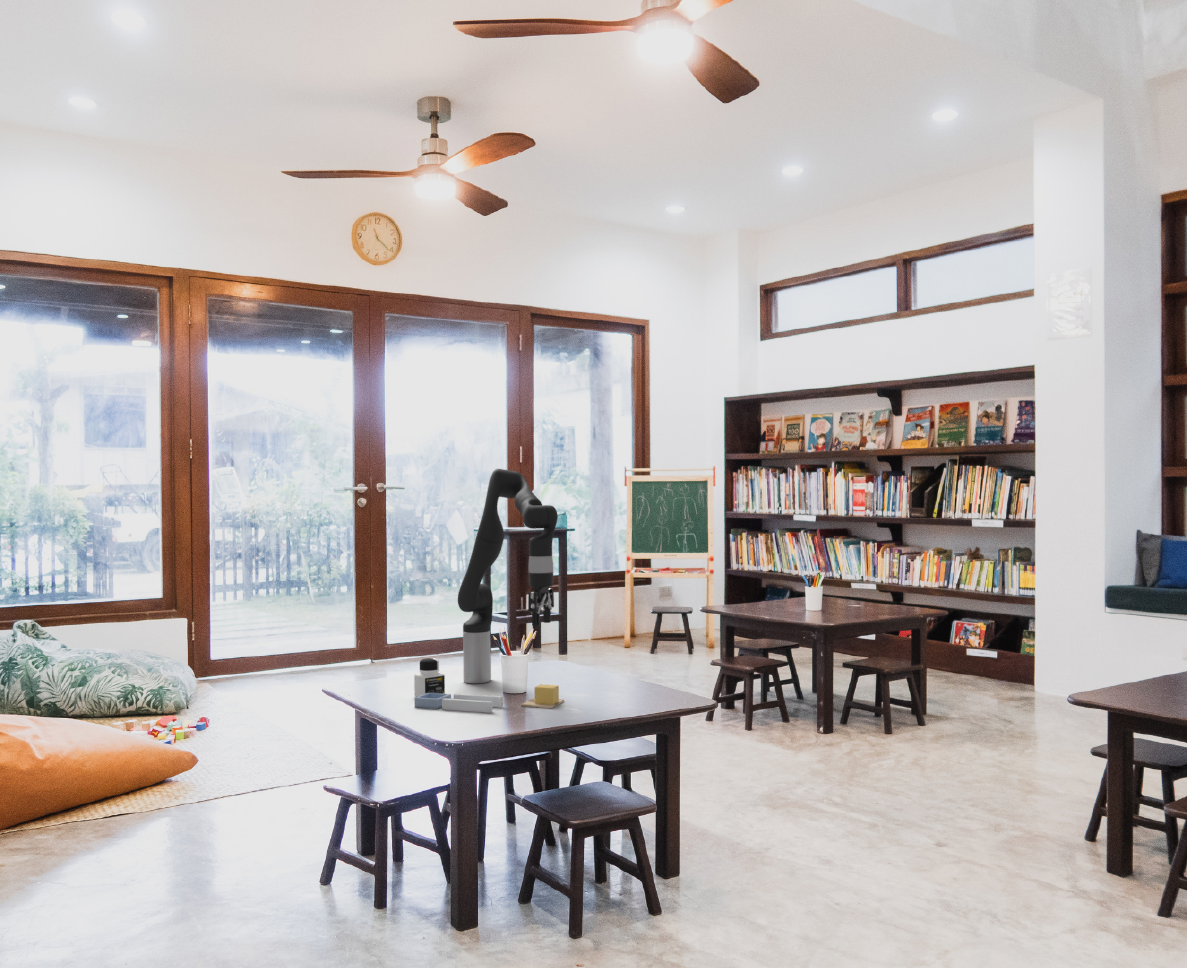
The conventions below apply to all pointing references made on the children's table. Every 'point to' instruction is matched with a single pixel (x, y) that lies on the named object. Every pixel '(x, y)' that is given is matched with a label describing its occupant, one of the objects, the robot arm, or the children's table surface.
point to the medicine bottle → (429, 678)
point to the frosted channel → (472, 703)
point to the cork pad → (532, 704)
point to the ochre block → (547, 694)
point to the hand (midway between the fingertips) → (541, 624)
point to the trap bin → (431, 700)
